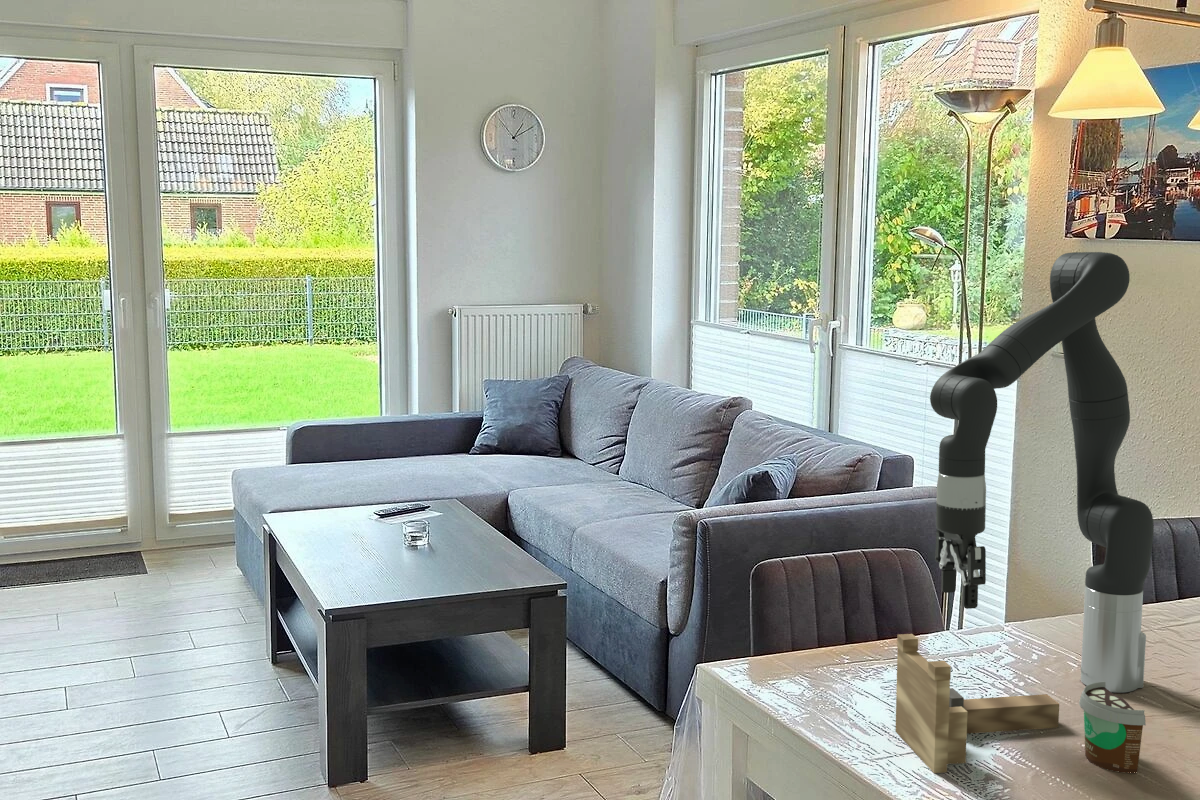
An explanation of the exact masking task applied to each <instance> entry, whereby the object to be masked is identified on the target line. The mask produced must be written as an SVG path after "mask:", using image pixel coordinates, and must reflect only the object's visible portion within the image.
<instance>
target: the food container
mask: <svg viewBox="0 0 1200 800" xmlns="http://www.w3.org/2000/svg"><path fill="white" fill-rule="evenodd" d="M1078 704H1079V705H1078V706H1080V708H1081V709H1082V710H1083V721H1084V722H1083V725H1084V726H1083V727H1084V728H1083V731H1084V753H1085V754H1084V756H1085V758H1086V760H1087V759H1088V761H1089V762H1090V763H1091V764H1092V765H1094V766H1096V767H1098V766H1099V768H1101V769H1103V768H1104V770H1106V769H1108V770H1107V771H1110V770H1113V771H1112V772H1114V771H1119V772H1118V773H1120V772H1129V773H1128V774H1137V773H1138V770H1139V761H1140V753H1141V746H1142V737H1143V728H1144V726H1146V725H1147V724H1146V714H1145V710H1144V709H1134V708H1133V707H1132V706H1131V705H1130V704H1129V703H1128V702H1127V700H1125V699H1124V698H1122V697H1121V696H1119V695H1116V693H1115V694H1114V692H1110V691H1109V690H1107V689H1106V682H1105V681H1104V682H1095V683H1091V684H1089V685H1085V686H1084V688H1083V690H1082V692H1081V695H1080V698H1079V701H1078ZM1130 772H1131V773H1130ZM1134 772H1135V773H1134ZM1136 772H1137V773H1136Z"/></svg>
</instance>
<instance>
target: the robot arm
mask: <svg viewBox="0 0 1200 800" xmlns="http://www.w3.org/2000/svg"><path fill="white" fill-rule="evenodd" d="M1129 269H1130V268H1129V267H1128V265H1127V263H1126V261H1125V260H1124V258H1122V257H1120V256H1119V255H1117V254H1115V253H1111V252H1102V251H1083V252H1082V251H1076V252H1074V251H1073V252H1065V253H1062V254H1061V255H1060V256H1059V257H1058V258H1057V259H1056V260H1055V261H1054V262H1053V264H1052V266H1051V271H1050V275H1049V289H1050V290H1049V291H1050V295H1051V300H1052V302H1051V303H1050V304H1049V305H1047V306H1045V307H1043V308H1042V309H1040V310H1037V311H1035V312H1034V313H1032V314H1030V315H1027V316H1026V317H1024V318H1022V319H1020V320H1018V321H1017V322H1014V323H1013V324H1011V325H1010V326H1008V327H1007V328H1006V329H1004V330H1003V331H1002V332H1000V333H999V335H998V336H996V337H995V338H994V339H993V340H992V341H991V342H990V343H989V344H987V345H986V346H985V347H984V348H983V349H982V350H981V351H980V352H979V353H977V354H975V355H973V356H971V357H969V358H967V359H965V360H963V361H962V362H960V363H959V364H957V365H955V366H954V367H952V368H950V369H949V370H947V371H946V372H945V373H943V374H942V375H941V376H940V377H939V378H938V379H937V380H936V381H935V383H934V385H933V386H932V388H931V390H930V391H931V392H930V396H929V402H930V405H931V408H932V410H933V411H934V412H935V413H936V414H937V415H938V416H940V417H942V418H945V419H951V420H956V421H958V424H957V427H956V431H955V434H948V435H945V436H944V437H943V438H942V439H941V440H940V442H939V449H938V450H939V451H938V476H937V484H936V503H935V504H936V509H935V510H936V511H935V527H936V531H935V532H936V533H935V551H934V552H935V556H934V560H935V563H939V565H938V566H939V569H940V570H941V576H940V577H941V579H940V581H941V583H940V584H941V585H940V587H941V589H940V590H941V592H943V593H945V594H949V593H950V594H952V593H955V592H956V590H957V589H956V588H957V573H958V574H960V576H961V580H962V599H961V600H962V601H961V602H962V607H963V608H964V609H966V610H969V609H971V610H972V609H977V608H978V605H979V604H978V603H979V602H978V601H979V600H978V599H979V598H978V597H979V596H978V595H979V586H981V585H986V584H987V583H986V582H987V581H986V580H987V579H986V576H987V571H986V569H987V567H986V565H987V562H986V558H987V557H986V556H987V555H986V550H987V549H986V546H984V545H983V546H982V545H981V546H978V545H977V539H976V536H977V535H978V534H982V533H983V532H985V530H986V509H987V508H986V507H987V484H986V483H987V482H986V448H987V446H988V442H989V438H990V436H991V432H992V429H993V425H994V422H995V419H996V415H997V410H998V397H997V393H996V391H995V389H1004V388H1007V387H1010V386H1011V385H1012V384H1013V383H1015V382H1016V381H1017V380H1018V379H1020V377H1022V375H1024V373H1026V372H1027V370H1028V369H1030V368H1031V367H1032V366H1033V365H1034V364H1035V363H1036V362H1037V361H1038V360H1040V359H1041V357H1043V356H1044V355H1045V354H1047V352H1049V351H1050V350H1051V349H1053V348H1054V347H1055V346H1057V345H1058V344H1059V343H1061V346H1062V354H1063V359H1064V365H1065V373H1066V382H1067V395H1068V404H1069V411H1070V412H1069V413H1070V418H1071V425H1072V431H1073V440H1074V453H1075V461H1076V462H1075V463H1076V465H1075V466H1076V504H1077V505H1076V509H1077V510H1076V511H1077V512H1076V513H1077V522H1078V526H1079V527H1078V528H1079V529H1080V530H1079V531H1080V532H1081V534H1082V535H1083V537H1084V539H1087V540H1088V541H1089V542H1091V543H1093V544H1096V545H1098V546H1101V547H1104V548H1106V549H1105V556H1104V563H1103V564H1102V563H1101V564H1097V565H1093V566H1090V567H1088V569H1087V570H1086V572H1085V577H1084V579H1085V581H1084V582H1085V583H1084V600H1083V601H1084V602H1083V617H1082V618H1083V620H1082V621H1083V623H1082V640H1081V642H1082V643H1081V660H1080V661H1081V664H1080V665H1081V666H1080V681H1081V683H1083V684H1084V685H1085V686H1087V685H1089V684H1091V683H1095V682H1104V681H1105V682H1106V689H1107V690H1109V691H1110V692H1111V693H1119V694H1120V693H1129V692H1133V691H1136V690H1137V689H1141V688H1142V689H1143V688H1144V680H1145V679H1144V678H1145V661H1146V644H1147V636H1146V634H1145V633H1144V632H1143V631H1142V621H1143V620H1142V618H1143V598H1144V596H1143V595H1144V584H1145V581H1146V579H1147V577H1148V574H1149V572H1150V566H1151V560H1152V559H1151V558H1152V550H1153V549H1152V548H1153V542H1154V541H1153V540H1154V525H1155V524H1154V517H1153V514H1152V513H1153V512H1152V511H1151V509H1150V508H1149V506H1148V505H1147V504H1146V503H1144V502H1142V501H1141V500H1137V499H1135V498H1130V497H1128V496H1123V495H1121V494H1119V493H1118V488H1117V483H1116V475H1115V463H1116V458H1117V454H1118V452H1119V449H1120V447H1121V445H1122V443H1123V441H1124V440H1125V438H1126V436H1127V432H1128V430H1129V426H1130V422H1131V412H1130V402H1129V392H1128V385H1127V381H1126V378H1125V375H1124V374H1123V371H1122V370H1121V368H1120V366H1119V365H1118V363H1117V361H1116V360H1115V359H1114V357H1113V355H1112V354H1111V353H1110V351H1109V349H1108V348H1107V346H1106V345H1105V343H1104V341H1103V339H1102V338H1101V335H1100V333H1099V330H1098V326H1097V322H1096V318H1097V317H1099V316H1100V315H1101V314H1103V313H1105V312H1107V311H1108V310H1109V309H1111V308H1113V307H1114V306H1115V305H1116V304H1118V303H1119V302H1120V301H1121V300H1122V298H1123V297H1124V296H1125V295H1126V293H1127V290H1128V287H1129V285H1130V276H1131V275H1130V270H1129Z"/></svg>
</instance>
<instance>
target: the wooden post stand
mask: <svg viewBox="0 0 1200 800" xmlns="http://www.w3.org/2000/svg"><path fill="white" fill-rule="evenodd" d="M896 636H897V641H896V642H897V643H896V647H897V654H896V655H897V657H896V658H897V659H896V660H897V661H896V692H895V693H896V697H895V733H896V734H897V735H898V736H899V737H900V738H901V739H902V740H903V742H905V743H906V745H907V746H908V747H909V748H910V749H911V750H912V751H913V752H914V754H916V756H918V758H919V759H920V760H921V761H922V763H924V764H925V765H926V766H927V768H929V769H930V771H931V772H932V773H933V774H942V773H948V765H956V764H966V763H967V740H968V738H967V735H968V734H967V711H966V710H965V709H964V708H963V707H962V706H961V707H949V697H950V688H951V676H952V675H951V673H952V671H951V670H952V666H951V665H950V664H949V663H948V662H947V661H945V660H933V661H932V660H931V661H928V660H927V659H926V658H925V657H924V656H922V655H921V654H920V653H919V652H918V651H919V638H918V637H917V636H916V635H914V634H913V633H902V634H901V633H900V634H899V633H898V634H897V635H896Z"/></svg>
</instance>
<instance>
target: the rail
mask: <svg viewBox="0 0 1200 800" xmlns="http://www.w3.org/2000/svg"><path fill="white" fill-rule="evenodd" d="M961 706H962V707H963V708H964V709H965V710H966V711H967V735H969V734H983V733H984V734H987V733H1000V732H1014V731H1028V730H1029V731H1031V730H1042V729H1044V730H1045V729H1058V728H1059V719H1060V703H1059V702H1058V701H1056V700H1055V699H1053V697H1051V696H1050V695H1048V694H1046V693H1045V694H1031V695H1028V694H1027V695H1026V694H1025V695H1017V696H1016V695H1013V696H998V697H983V698H982V697H981V698H966V699H965V698H964V697H963V696H962V695H961V694H960V692H958V691H957V690H956V689H955V688H952V687H950V697H949V707H961ZM1057 727H1058V728H1057Z"/></svg>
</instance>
